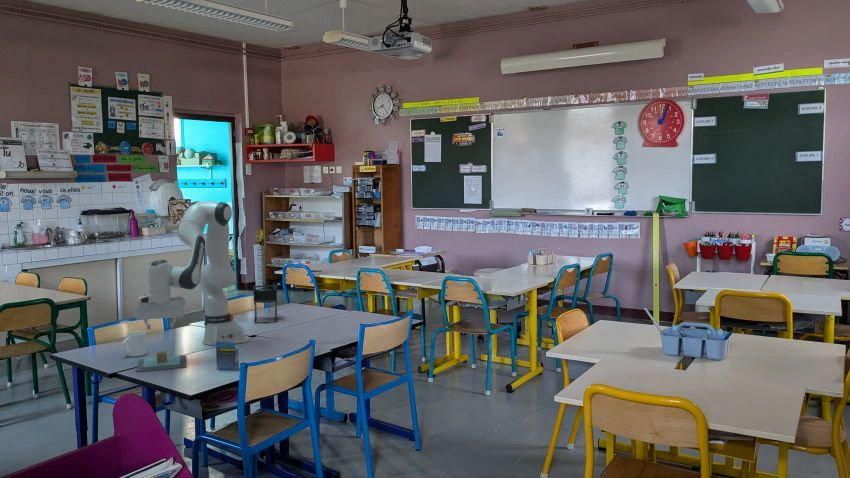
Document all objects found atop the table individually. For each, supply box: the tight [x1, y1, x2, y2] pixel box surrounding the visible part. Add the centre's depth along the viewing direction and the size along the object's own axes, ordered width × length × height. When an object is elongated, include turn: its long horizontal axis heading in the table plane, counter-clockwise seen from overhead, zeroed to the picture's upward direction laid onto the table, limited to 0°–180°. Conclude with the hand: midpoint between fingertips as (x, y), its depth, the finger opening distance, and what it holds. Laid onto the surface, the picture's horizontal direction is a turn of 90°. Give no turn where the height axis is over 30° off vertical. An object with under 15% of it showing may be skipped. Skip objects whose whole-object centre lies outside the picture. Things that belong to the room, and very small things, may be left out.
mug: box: [121, 330, 147, 358], centre depth 307 cm, size 12×8×10 cm
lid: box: [143, 350, 181, 369], centre depth 293 cm, size 15×15×5 cm
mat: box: [135, 354, 187, 373], centre depth 293 cm, size 20×20×1 cm
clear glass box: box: [252, 284, 278, 324], centre depth 384 cm, size 13×17×22 cm
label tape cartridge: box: [215, 342, 240, 371], centre depth 285 cm, size 9×4×12 cm, turn 81°
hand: (160, 328), depth 292 cm, fingers open, 8 cm apart
